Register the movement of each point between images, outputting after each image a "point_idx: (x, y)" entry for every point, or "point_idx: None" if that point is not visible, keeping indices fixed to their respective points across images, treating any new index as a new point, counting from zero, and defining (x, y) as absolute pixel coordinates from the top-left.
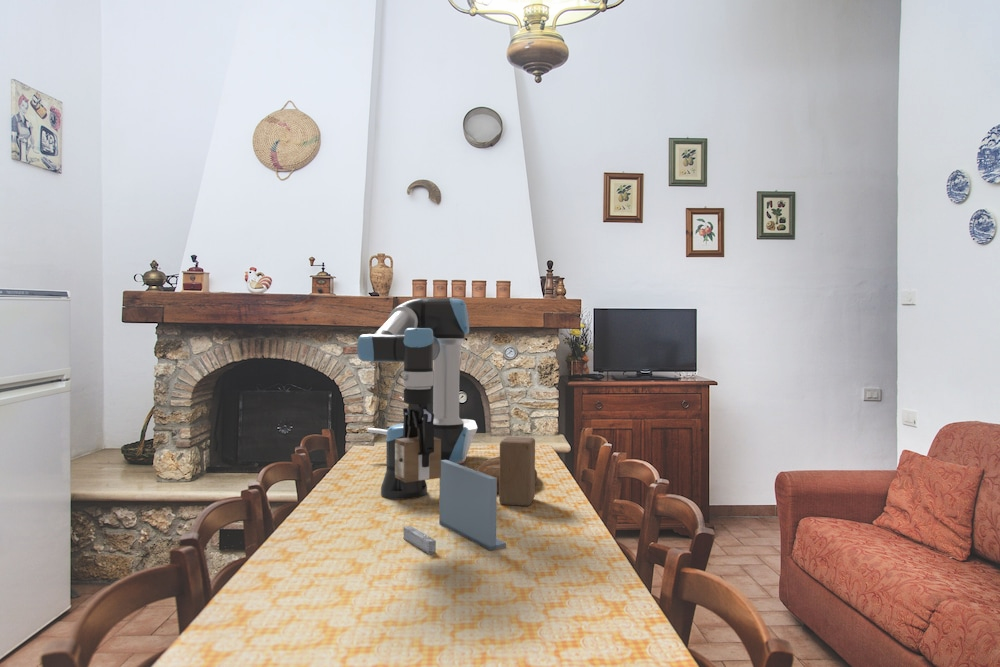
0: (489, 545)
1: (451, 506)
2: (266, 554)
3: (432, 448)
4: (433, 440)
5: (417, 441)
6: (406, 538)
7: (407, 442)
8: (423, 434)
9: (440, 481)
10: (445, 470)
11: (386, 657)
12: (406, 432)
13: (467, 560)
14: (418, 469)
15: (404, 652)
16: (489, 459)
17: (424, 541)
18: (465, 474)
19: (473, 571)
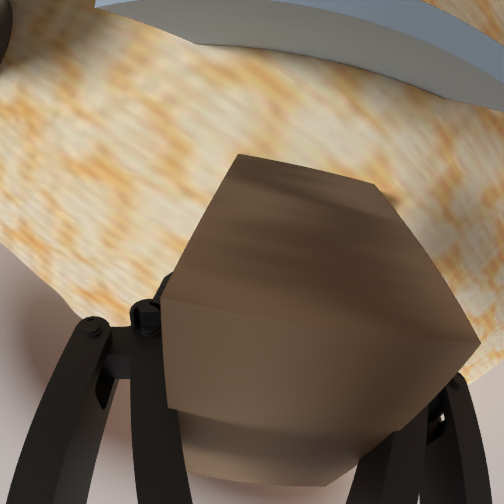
0: (450, 99)
1: (261, 39)
2: None
3: (462, 398)
4: (479, 436)
5: (352, 462)
6: None
7: (325, 482)
8: (427, 501)
9: (152, 22)
10: (177, 8)
11: (481, 375)
12: (96, 440)
13: (447, 173)
14: None
15: (489, 365)
16: None
17: None
18: (409, 42)
19: (480, 206)
